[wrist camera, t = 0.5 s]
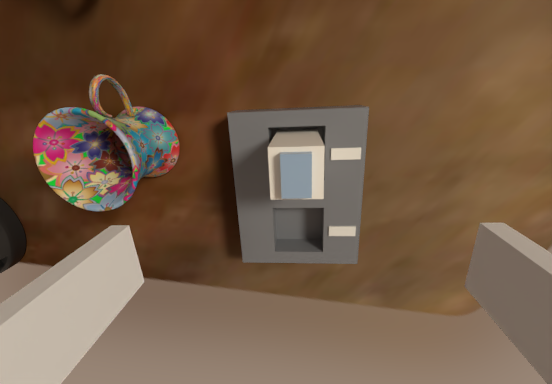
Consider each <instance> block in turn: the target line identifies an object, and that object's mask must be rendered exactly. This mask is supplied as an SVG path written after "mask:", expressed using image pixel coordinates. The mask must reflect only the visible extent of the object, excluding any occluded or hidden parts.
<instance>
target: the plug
mask: <svg viewBox="0 0 552 384" xmlns="http://www.w3.org/2000/svg"><path fill="white" fill-rule="evenodd" d="M324 153H325V146H324V143H323V141H322V139H321V137H320V135H319V133H318V131H317V129H304V130H278V131H277V132H276V134H275V136H274V137H273V139H272V141H271V143H270V144H269V146H268V163H269V181H270V199H271V200H282V199H324Z"/></svg>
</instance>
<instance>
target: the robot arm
mask: <svg viewBox="0 0 552 384" xmlns="http://www.w3.org/2000/svg"><path fill="white" fill-rule="evenodd" d="M25 250H26V237H25V233H24V230H23V227H22V225H21V223H20V221H19V219H18V218H17V216H16V215H15V213H14V212H13V210H12V209H11V208H10V207H9V206H8V205H7V204H6V203H5V202H4V201H3V200H2V199H1V198H0V273H2V272H3V271H5V270H7V269H8V268H10V267H12V266H13V265H15V264H17V263H18V262H19V261H20V260H21V259H22V257H23V255H24V253H25ZM143 283H144V278H143V274H142V271H141V267H140V264H139V260H138V256H137V253H136V249H135V245H134V242H133V238H132V235H131V231H130V227H129V225H120V226H110V227H108V228H107V229H105V230H104V231H103V232H101V233H100V234H98V235H97V236H96V237H94V238H93V239H91V240H90V241H88V242H87V243H86V244H84V245H83V246H81V247H80V248H79V249H77V250H76V251H74V252H73V253H71V254H70V255H69V256H67V257H66V258H64V259H63V260H62V261H60V262H59V263H57V264H56V265H54V266H53V267H52V268H50V269H49V270H47V271H46V272H44V273H43V274H42V275H40V276H39V277H38V278H36V279H35V280H33V281H32V282H30V283H29V284H27V285H26V286H25V287H23V288H22V289H21V290H19V291H18V292H16V293H15V294H13V295H12V296H10V297H9V298H8V299H6V300H5V301H3V302H2V303H1V304H0V384H61V383H62V382H63V380H64V379H65V378H66V377H67V376H68V374H69V373H70V372H71V371H72V369H73V368H74V367H75V366H76V365H77V364H78V362H79V361H80V360H81V359H82V357H83V356H84V355H85V354H86V352H87V351H88V350H89V349H90V348H91V346H92V345H93V344H94V343H95V342H96V340H97V339H98V338H99V337H100V335H101V334H102V333H103V332H104V331H105V329H106V328H107V327H108V326H109V324H110V323H111V322H112V321H113V320H114V318H115V317H116V316H117V315H118V314H119V312H120V311H121V310H122V308H123V307H124V306H125V305H126V304H127V303H128V301H129V300H130V299H131V298H132V296H133V295H134V294H135V293H136V292H137V290H138V289H139V288H140V287H141V285H142V284H143ZM465 288H466V289H467V290H468V291H469V292H470V293H471V295H472V296H473V297H474V298H475V299H476V301H477V302H478V303H479V304H480V305H481V306H482V308H483V309H484V310H485V311H486V312H487V313H488V314H489V316H490V317H491V318H492V319H493V320H494V322H495V323H496V324H497V325H498V326H499V327H500V329H502V331H503V332H504V333H505V335H506V336H507V337H508V338H509V339H510V340H511V342H512V343H513V344H514V345H515V346H516V347H517V348H518V350H519V351H520V352H521V353H522V355H523V356H524V357H525V358H526V359H527V360H528V362H529V363H530V364H531V365H532V366H533V367H534V369H535V370H536V371H537V372H538V373H539V374H540V376H541V377H542V378H543V379H544V380H545V382H547V384H552V253H550V252H549V251H547V250H545V249H544V248H542V247H541V246H539V245H538V244H536V243H534V242H533V241H531V240H530V239H528V238H527V237H525V236H523V235H522V234H520V233H519V232H517V231H516V230H514V229H513V228H511V227H509V226H508V225H506V224H505V223H480V225H479V229H478V233H477V237H476V241H475V245H474V250H473V254H472V258H471V262H470V266H469V270H468V274H467V278H466V282H465Z"/></svg>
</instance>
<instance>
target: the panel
mask: <svg viewBox="0 0 552 384" xmlns="http://www.w3.org/2000/svg"><path fill="white" fill-rule="evenodd" d="M368 114H369V107H366V106H361V105H354V106H330V107H307V108H283V109H259V110H236V111H232V112H229V113H227V115H228V124H229V134H230V144H231V153H232V163H233V172H234V182H235V191H236V201H237V210H238V220H239V229H240V239H241V249H242V258H243V262H262V263H338V264H357V260H358V247H359V234H360V220H361V207H362V194H363V180H364V167H365V154H366V141H367V127H368ZM304 129H317V131H318V133H319V135H320V137H321V139H322V141H323V143H324V146H325V153H324V199H282V200H271V199H270V181H269V163H268V146H269V144H270V143H271V141H272V139H273V137H274V136H275V134H276V132H277V131H278V130H304Z"/></svg>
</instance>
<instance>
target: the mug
mask: <svg viewBox="0 0 552 384" xmlns="http://www.w3.org/2000/svg"><path fill="white" fill-rule="evenodd" d="M104 80H107V81H108V82H109V83H111V84H112V85H113V86H114V88H115V89H116V90H117V92H118V93H119V95H120V97H121V99H122V101H123V104H124V107H125V110H124V111H122V112H121V113H120V114H119V115H117V117H116V118H112V115H110V114H107V113H106V112H105V111H104V110H103V109H102V107H101V105H100V102H99V97H98V92H99V87H100V84H101V83H102V81H104ZM89 98H90V102H91V105H92V107H93V108H94V110H95V111H96V112H97V113H96V112H93V111H91V110H87V109H84V108H78V107H66V108H60V109H57V110H55V111H52V112H51V113H49V114H47V115H46V116H45V117H44V118H43V119H42V120H41V121H40V123H39V124H38V126H37V128H36V131H35V134H34V139H33V152H34V157H35V161H36V164H37V166H38V169H39V171H40V173H41V175H42V176H43V178H44V179H45V181H46V182H47V183H48V185H49V186H50V187H51V188H52V189H53V190H54V191H55V192H56V193H57V194H58V195H59V196H60V197H62V198H63V199H64V200H66V201H67V202H69V203H71V204H73V205H75V206H77V207H79V208H82V209H86V210H90V211H109V210H113V209H116V208H118V207H120V206H121V205H123V204H124V203H126V202H127V201H128V200H129V199H130V197H131V196H132V195H133V193H134V191H135V189H136V186H137V183H138V181H139V180H140V179H141V178H143V177H157V176H161V175H164V174H166V173H167V172H169V171H170V170H171V169H172V168H173V167H174V165H175V164H176V162H177V159H178V156H179V148H180V147H179V140H178V136H177V134H176V131H175V130H174V128H173V126H172V125H171V123H170V122H169V121H168V120H167V119H166V118H165V117H164V116H163V115H161V114H160V113H158V112H157V111H155V110H152V109H150V108H146V107H132V106H131V103H130V100H129V98H128V96H127V94H126V92H125V91H124V89H123V88H122V86H121V85H120V84H119V83H118V82H117V81H116V80H115V79H113V78H112V77H110V76H107V75H103V74H100V75H97V76H95V77H94V78H93V79H92V81H91V83H90V87H89ZM107 117H109V118H107Z"/></svg>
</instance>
